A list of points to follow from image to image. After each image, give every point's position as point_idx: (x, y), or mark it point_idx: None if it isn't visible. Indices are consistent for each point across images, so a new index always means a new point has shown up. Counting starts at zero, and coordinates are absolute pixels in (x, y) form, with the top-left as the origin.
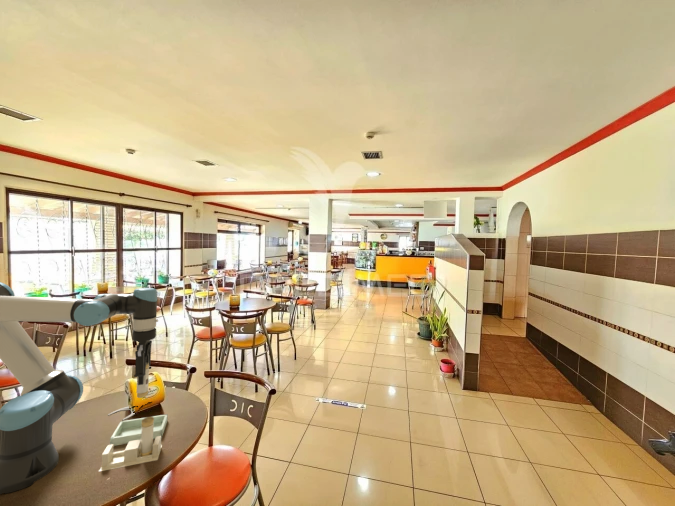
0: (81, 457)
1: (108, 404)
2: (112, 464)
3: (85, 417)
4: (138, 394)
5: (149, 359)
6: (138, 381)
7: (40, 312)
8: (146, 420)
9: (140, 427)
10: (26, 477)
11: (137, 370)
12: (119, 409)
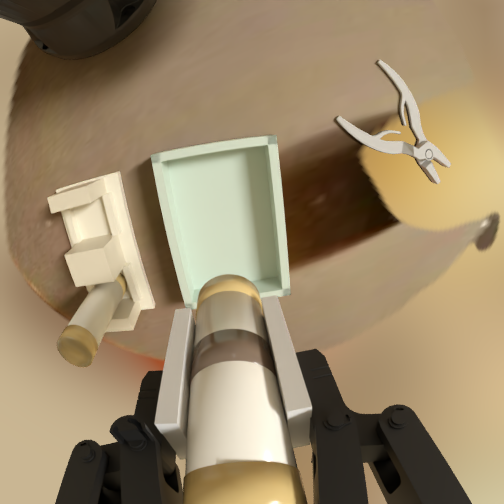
0: (129, 89)
1: (438, 51)
2: (66, 218)
3: (373, 3)
4: (199, 301)
5: (388, 501)
6: (139, 398)
7: None
8: (69, 349)
9: (260, 207)
10: (35, 41)
11: (69, 501)
12: (405, 88)
